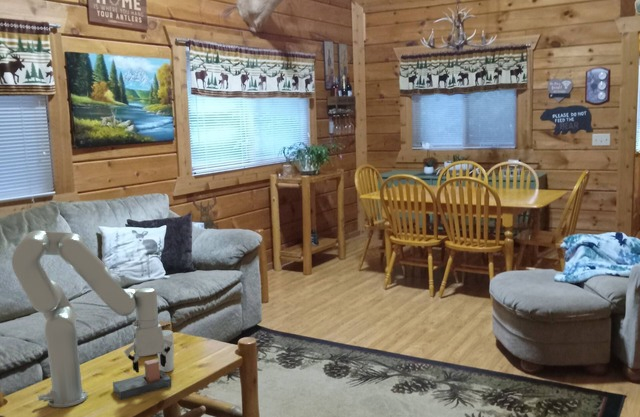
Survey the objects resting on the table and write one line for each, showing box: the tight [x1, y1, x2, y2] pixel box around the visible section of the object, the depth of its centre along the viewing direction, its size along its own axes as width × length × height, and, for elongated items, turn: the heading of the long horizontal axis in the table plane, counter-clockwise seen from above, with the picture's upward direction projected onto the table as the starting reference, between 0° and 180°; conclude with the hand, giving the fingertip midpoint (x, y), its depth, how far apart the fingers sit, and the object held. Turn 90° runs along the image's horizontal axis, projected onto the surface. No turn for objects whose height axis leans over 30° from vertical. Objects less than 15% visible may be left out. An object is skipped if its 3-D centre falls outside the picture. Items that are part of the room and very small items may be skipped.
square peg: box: [144, 358, 160, 382], centre depth 226 cm, size 4×4×9 cm
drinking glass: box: [156, 329, 175, 373], centre depth 240 cm, size 7×7×15 cm
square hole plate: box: [112, 369, 172, 401], centre depth 225 cm, size 18×10×3 cm, turn 123°
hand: (149, 368), depth 226 cm, fingers open, 9 cm apart
